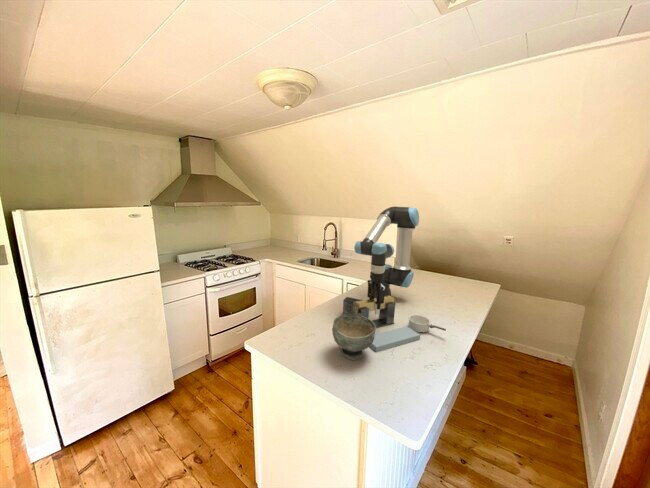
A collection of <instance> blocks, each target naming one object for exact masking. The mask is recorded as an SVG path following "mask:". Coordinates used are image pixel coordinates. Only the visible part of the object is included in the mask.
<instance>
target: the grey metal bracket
mask: <svg viewBox="0 0 650 488" xmlns="http://www.w3.org/2000/svg"><path fill="white" fill-rule="evenodd" d="M395 310H396V304H395V303H390V304H387V308H383V309H380V313H379V314H378V318H377V319H372V320H371V321H373V322H374V324H375V326H376V328H375V329H377V328H382V327H387V326H392V325H394V324H395V321H394V320H395V312H396V311H395ZM369 314H370V311H369V308H364V309H360V313H359V314H357V313H355V312H354V314H353V315H360V316H364V317H366V318H368V319H370V318H369Z"/></svg>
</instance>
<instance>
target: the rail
mask: <svg viewBox="0 0 650 488" xmlns="http://www.w3.org/2000/svg"><path fill="white" fill-rule="evenodd" d="M396 299H397V297H395V296H394V295H392V294H391V295H390V296H385V297H384V303H383V304H381V306H380V309H383V308H387V304H390V303H395V305H396V303H397V302H396V301H397V300H396ZM361 300H362V301H356V302H353V311H354V312H355V313H357V314H359V313H360V309H364V308H369V312H374V311H375V303H377V301H376V298H373V299H369V298H368V299H361ZM373 310H374V311H373Z"/></svg>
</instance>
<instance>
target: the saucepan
mask: <svg viewBox="0 0 650 488" xmlns="http://www.w3.org/2000/svg"><path fill="white" fill-rule="evenodd" d="M408 327H409V328H410V329H412V330H414V331H415V332H417V333H420V332H423V333H427V332H429V331H430V329H439V330H442V331H446V330H447V328H444V327H442V326H438V325H435V324H432V323H431V319H430V318H428V317H426V316H423V315H420V314H419V315H418V314H411V315H409V316H408Z"/></svg>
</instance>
